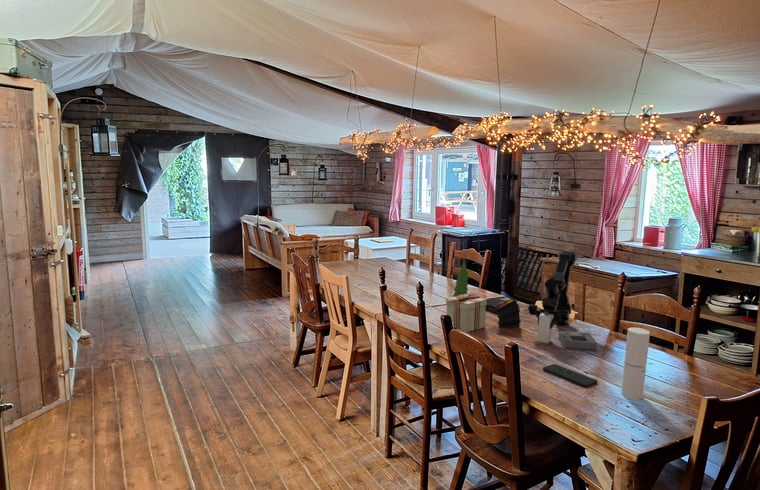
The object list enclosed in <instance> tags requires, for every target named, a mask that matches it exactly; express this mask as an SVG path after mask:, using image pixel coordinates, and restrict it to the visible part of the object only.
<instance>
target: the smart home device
mask: <svg viewBox="0 0 760 490" xmlns="http://www.w3.org/2000/svg"><path fill="white" fill-rule="evenodd" d="M542 371H544V372H545V373H549V374H551V375H553V376H555V377H558V378H561V379H563V380H565V381H568V382H570V383H573V384H574V385H575V384H576V385H577V386H579V387H582V388H584V389H587V388H589V387H591V386H594V385H597V384H598V380H597V379H595V378H592V377H589V376H587V375H585V374H583V373H580V372H577V371H574V370H572V369H570V368H567V367H564V366H562V365H559V364H556V363H553V364H552V363H551V364H550V365H546V366H543V367H542Z"/></svg>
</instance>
